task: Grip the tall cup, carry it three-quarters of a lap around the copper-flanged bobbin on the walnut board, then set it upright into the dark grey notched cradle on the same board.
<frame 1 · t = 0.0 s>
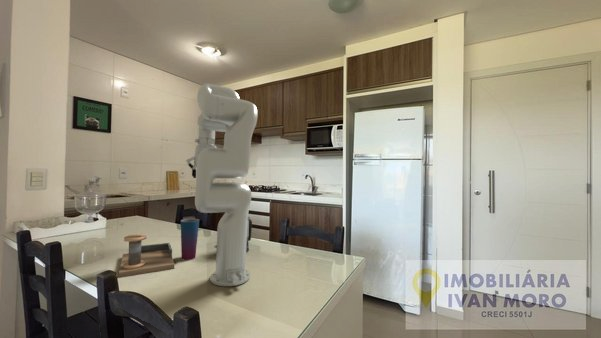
hand: (205, 178, 121), 31 cm above the table, tool pointing down, fingers open, 9 cm apart
milk frother: (232, 249, 113), on the table
cup: (188, 258, 100), on the table
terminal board: (147, 262, 93), on the table
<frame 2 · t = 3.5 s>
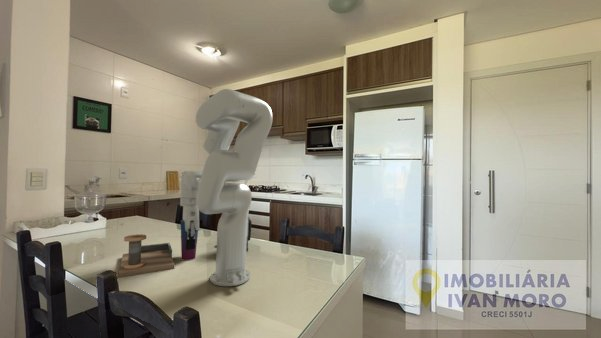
hand: (188, 246, 100), 5 cm above the table, tool pointing down, fingers closed on cup, 6 cm apart
cup: (188, 258, 100), on the table, touching gripper
everything else where it was.
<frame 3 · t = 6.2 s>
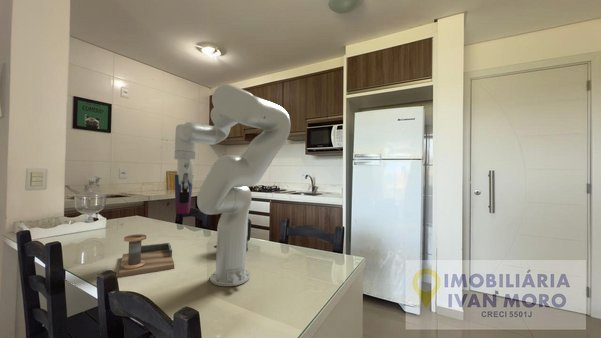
hand: (182, 201, 99), 23 cm above the table, tool pointing down, fingers closed on cup, 6 cm apart
cup: (182, 213, 99), point 18 cm above the table, touching gripper
everything else where it was.
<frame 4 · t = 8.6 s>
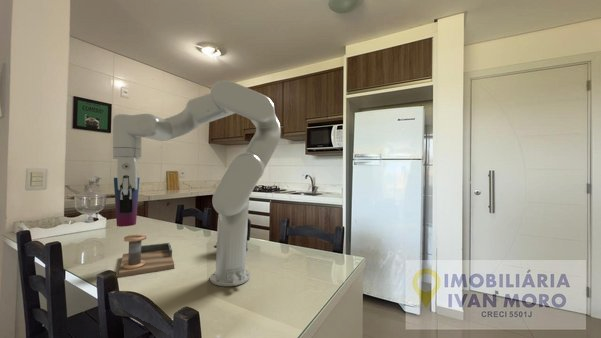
hand: (126, 210, 79), 22 cm above the table, tool pointing down, fingers closed on cup, 6 cm apart
cup: (126, 225, 79), point 17 cm above the table, touching gripper
everything else where it was.
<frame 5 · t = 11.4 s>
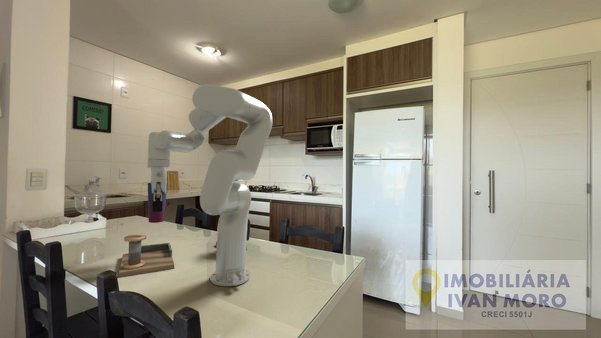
hand: (156, 209, 97), 19 cm above the table, tool pointing down, fingers closed on cup, 6 cm apart
cup: (156, 222, 97), point 14 cm above the table, touching gripper
everything else where it was.
when the fingers open (7 cm above the table, at t = 13.8 s): cup drops 1 cm, resting on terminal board.
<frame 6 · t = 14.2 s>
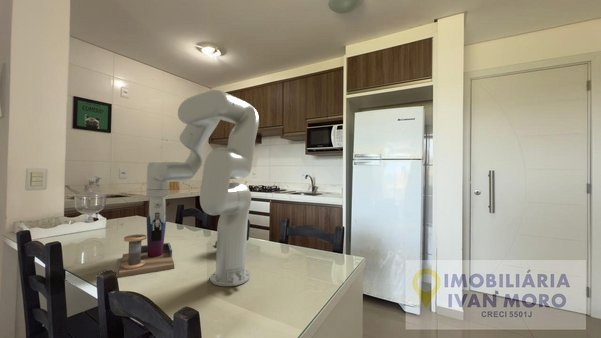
hand: (155, 237, 97), 8 cm above the table, tool pointing down, fingers open, 9 cm apart
cup: (155, 255, 97), point 1 cm above the table, touching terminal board
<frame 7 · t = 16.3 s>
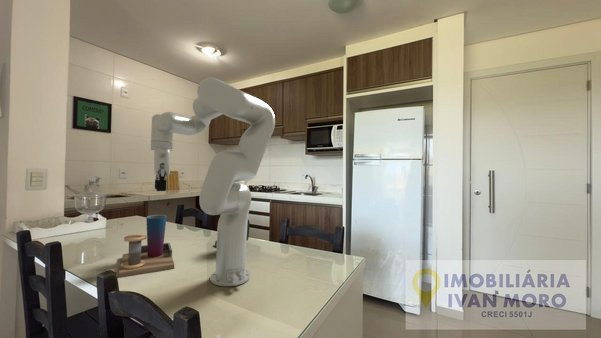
hand: (160, 190, 98), 27 cm above the table, tool pointing down, fingers open, 9 cm apart
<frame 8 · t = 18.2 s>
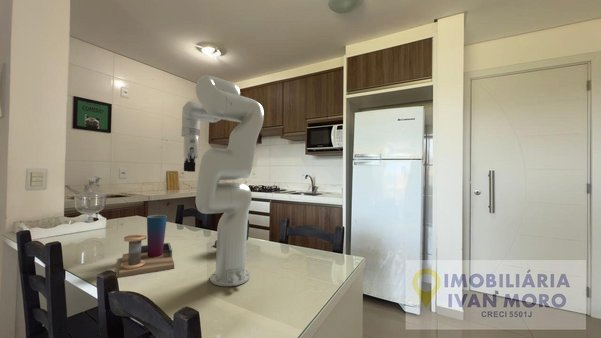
hand: (189, 171, 112), 34 cm above the table, tool pointing down, fingers open, 9 cm apart
at the end: cup inside the target area on the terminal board (0.2 cm from its centre), point 1.3 cm above the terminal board's base; cup tilted 0°; the gripper is holding nothing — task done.
